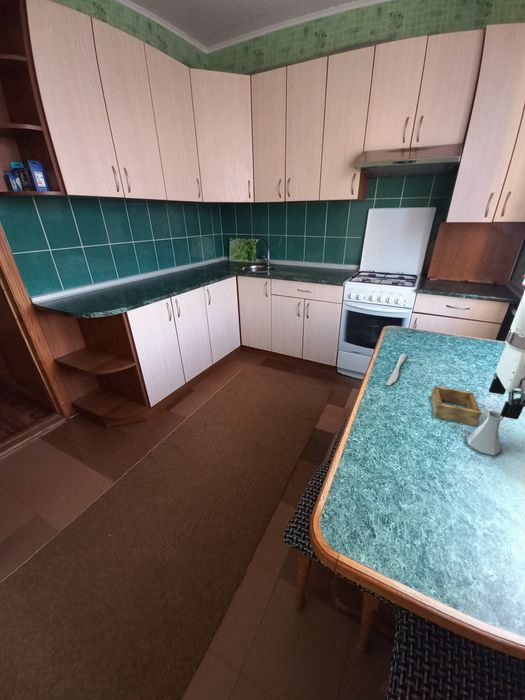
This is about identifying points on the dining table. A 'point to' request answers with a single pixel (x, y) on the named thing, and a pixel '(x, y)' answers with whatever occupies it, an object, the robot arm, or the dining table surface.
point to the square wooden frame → (452, 412)
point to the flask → (487, 435)
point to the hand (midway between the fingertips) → (502, 404)
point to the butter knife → (396, 370)
